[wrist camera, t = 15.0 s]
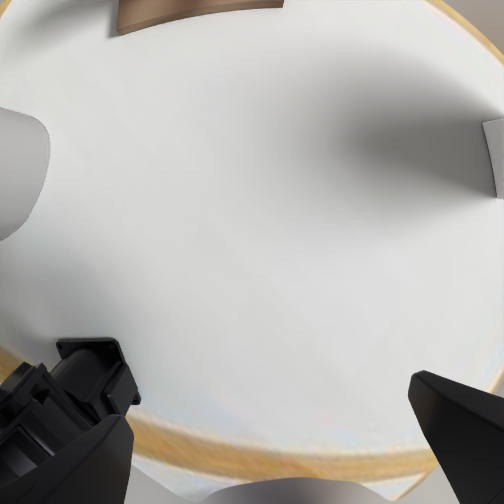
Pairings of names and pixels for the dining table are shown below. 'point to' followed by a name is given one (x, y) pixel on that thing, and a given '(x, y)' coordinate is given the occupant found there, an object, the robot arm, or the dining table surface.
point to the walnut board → (178, 10)
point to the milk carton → (496, 151)
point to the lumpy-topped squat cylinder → (20, 167)
